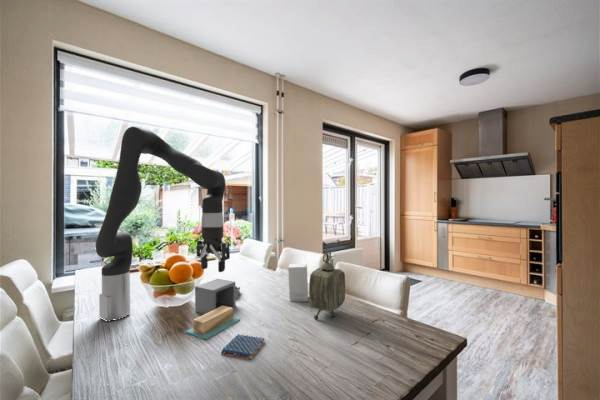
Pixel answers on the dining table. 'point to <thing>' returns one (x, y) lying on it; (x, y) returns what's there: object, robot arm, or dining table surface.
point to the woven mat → (243, 346)
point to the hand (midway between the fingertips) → (212, 270)
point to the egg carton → (237, 291)
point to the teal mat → (214, 331)
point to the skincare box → (298, 282)
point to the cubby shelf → (214, 295)
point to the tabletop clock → (326, 287)
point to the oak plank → (212, 319)
